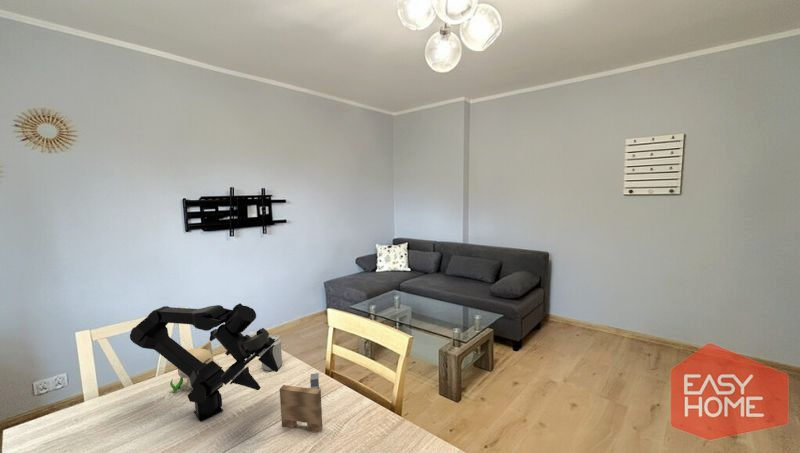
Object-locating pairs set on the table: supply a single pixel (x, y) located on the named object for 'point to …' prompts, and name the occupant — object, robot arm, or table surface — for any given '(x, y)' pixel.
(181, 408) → the table surface
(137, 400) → the table surface
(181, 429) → the table surface
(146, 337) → the robot arm
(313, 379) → the charcoal rail
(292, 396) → the walnut plate
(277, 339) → the can
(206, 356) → the kitten
